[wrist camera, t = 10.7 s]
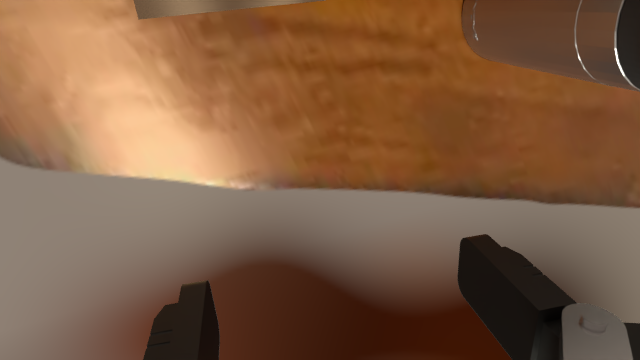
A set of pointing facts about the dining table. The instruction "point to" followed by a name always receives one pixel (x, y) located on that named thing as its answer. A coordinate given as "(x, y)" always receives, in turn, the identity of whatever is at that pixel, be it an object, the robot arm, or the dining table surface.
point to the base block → (200, 6)
